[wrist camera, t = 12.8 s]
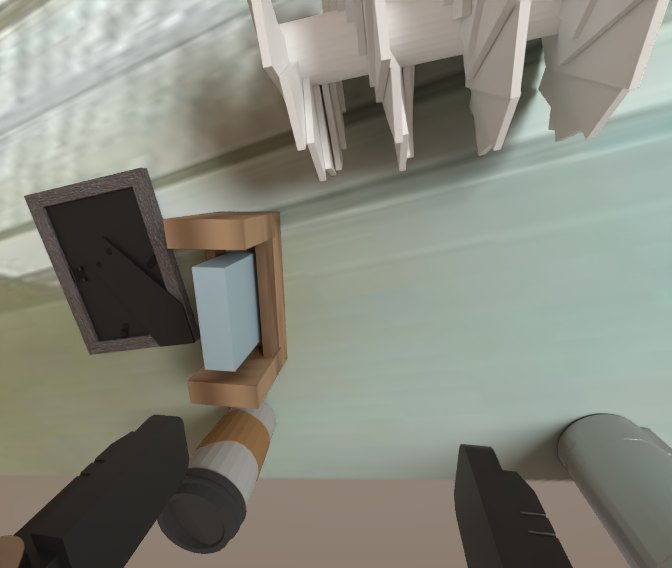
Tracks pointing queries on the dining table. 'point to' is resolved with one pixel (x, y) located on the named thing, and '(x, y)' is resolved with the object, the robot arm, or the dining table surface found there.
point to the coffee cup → (219, 481)
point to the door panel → (228, 308)
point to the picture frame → (115, 262)
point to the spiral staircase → (447, 41)
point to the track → (271, 352)
